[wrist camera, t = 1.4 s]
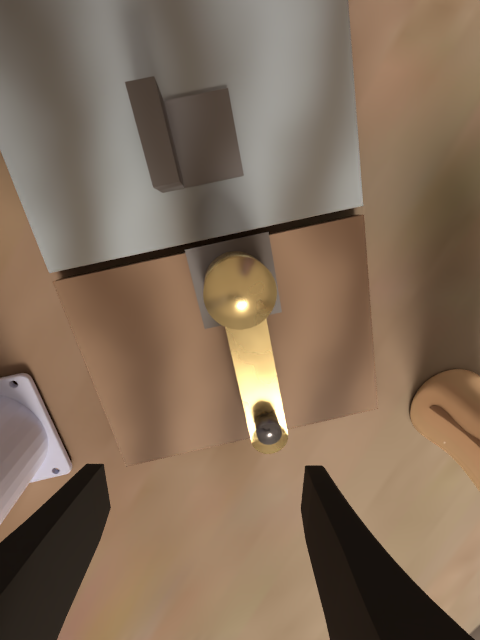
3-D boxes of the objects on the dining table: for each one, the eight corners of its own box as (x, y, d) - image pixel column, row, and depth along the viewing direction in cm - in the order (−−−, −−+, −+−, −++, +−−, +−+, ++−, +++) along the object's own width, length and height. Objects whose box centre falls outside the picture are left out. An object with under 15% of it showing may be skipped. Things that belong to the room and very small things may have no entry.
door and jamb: (130, 454, 23) (113, 503, 19) (-40, 13, 15) (-133, -64, 11) (369, 399, 23) (402, 436, 19) (332, -60, 15) (375, -159, 11)
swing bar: (197, 258, 18) (194, 267, 14) (260, 245, 18) (271, 250, 14) (240, 434, 21) (245, 472, 18) (291, 422, 21) (306, 458, 18)
